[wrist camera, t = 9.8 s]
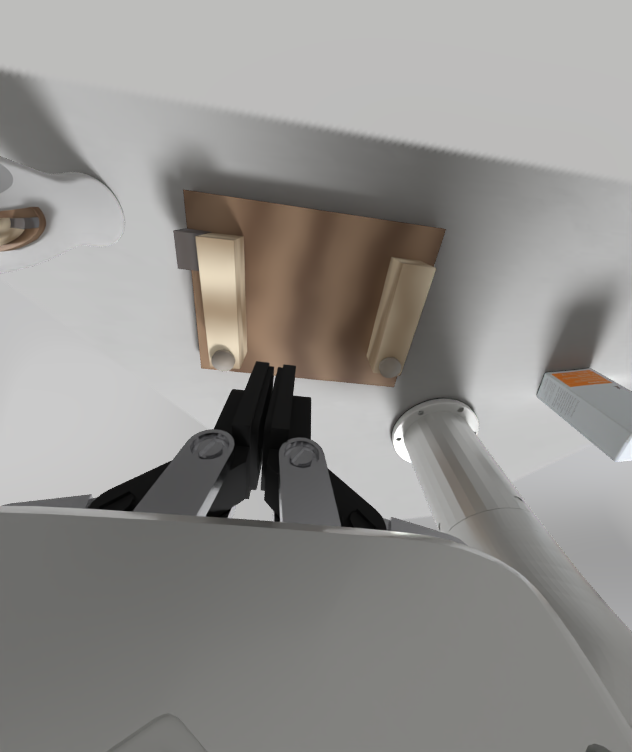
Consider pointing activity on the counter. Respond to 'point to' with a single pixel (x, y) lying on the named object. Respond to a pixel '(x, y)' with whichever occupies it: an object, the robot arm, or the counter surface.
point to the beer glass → (52, 215)
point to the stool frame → (318, 285)
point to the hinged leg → (223, 298)
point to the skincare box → (592, 408)
